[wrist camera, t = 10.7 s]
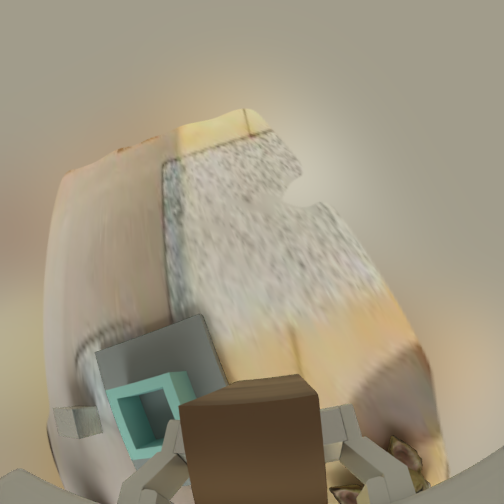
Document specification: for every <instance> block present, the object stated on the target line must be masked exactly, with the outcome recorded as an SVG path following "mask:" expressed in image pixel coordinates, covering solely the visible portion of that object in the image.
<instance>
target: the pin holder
mask: <svg viewBox="0 0 504 504" xmlns="http://www.w3.org/2000/svg"><path fill="white" fill-rule="evenodd" d="M95 355H96V359H97V363H98V366H99V370H100V374H101V377H102V381H103V384H104V388H105V391H106V394H107V397H108V400H109V403H110V406H111V409H112V412H113V415H114V418H115V421H116V423H117V426H118V429H119V431H120V434H121V436H122V439H123V441H124V444H125V446H126V448H127V451H128V453H129V455H130V457H131V460H132V462H133V464H134V466H135V468H136V470H138V469H139V468H140V467H142V466H143V465H144V464H145V463H146V462H147V461H148V460H149V459H150V458H152V457H153V456H154V455H155V454H156V453H157V452H161V449H162V445H163V441H164V437H165V432H166V428H167V424H168V422H169V421H170V420H180V416H179V408H178V406H179V405H181V404H184V403H187V402H189V401H192V400H194V399H197V398H199V397H202V396H204V395H207V394H209V393H212V392H214V391H216V390H219V389H221V388H223V387H226V386H228V385H229V384H228V381H227V379H226V376H225V374H224V371H223V369H222V366H221V364H220V361H219V358H218V356H217V353H216V351H215V348H214V345H213V342H212V340H211V337H210V334H209V332H208V329H207V326H206V323H205V320H204V318H203V316H202V315H200V314H197V315H195V316H192V317H190V318H187V319H185V320H182V321H179V322H177V323H174V324H172V325H169V326H166V327H164V328H161V329H158V330H156V331H153V332H150V333H148V334H145V335H142V336H139V337H137V338H134V339H131V340H128V341H126V342H123V343H120V344H117V345H114V346H112V347H109V348H106V349H103V350H100V351H97V352H95ZM187 485H191V483H190V478H188V479H187V480H186V482H185V483H184V484H183V485H182V486H187Z"/></svg>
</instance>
